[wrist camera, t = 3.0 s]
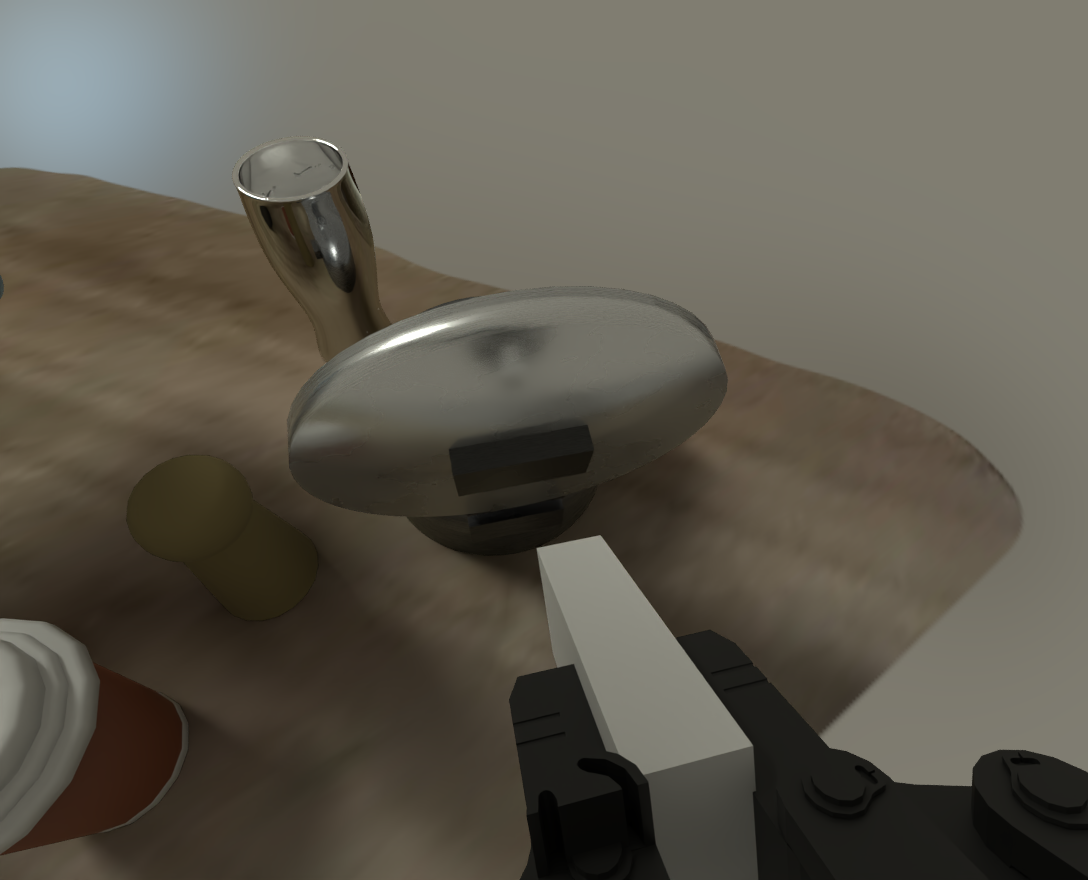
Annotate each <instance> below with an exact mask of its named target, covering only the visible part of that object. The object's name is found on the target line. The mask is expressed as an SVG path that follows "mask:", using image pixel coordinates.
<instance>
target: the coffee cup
mask: <svg viewBox="0 0 1088 880" xmlns="http://www.w3.org/2000/svg"><path fill="white" fill-rule="evenodd" d="M188 729H189V724H188V722H187V720H186V717H185V715H184V713H183V711H182V709H181V707H180V705H179V704H178V703H176V702H175V701H173V700H172V699H170V698H169V697H167V696H166V695H164V694H163V693H160V692H156V691H154V690H152V689H150V688H147V687H145V686H143V685H141V684H139V683H137V682H135V681H132V680H130V679H128V678H126V677H124V676H122V675H119V674H117V673H115V672H113V671H111V670H109V669H106V668H104V667H102V666H100V665H98V664H96V663H93V662H92V660H91V657H90V655H89V652H88V650H87V647H86V645H84V644H83V643H81V642H80V641H78V640H77V639H75V638H74V637H72V636H71V635H69V634H68V633H66V632H65V631H63V630H62V629H60V628H59V627H57V626H56V625H53V624H50V623H47V622H42V621H30V620H18V619H6V618H2V619H0V855H4V854H9V853H13V852H17V851H22V850H26V849H30V848H35V847H39V846H43V845H48V844H52V843H56V842H61V841H65V840H69V839H74V838H78V837H82V836H87V835H91V834H95V833H104V832H108V831H111V830H114V829H117V828H119V827H122V826H125V825H128V824H131V823H133V822H135V821H136V820H137V819H139V818H140V817H141V816H143V815H144V814H145V813H146V812H148V811H149V810H150V809H152V808H153V807H154V806H156V805H157V804H158V803H159V802H160V801H161V799H162V798H163V797H164V795H165V794H166V793H167V791H168V790H169V789H170V787H171V786H172V784H173V783H174V782H175V780H176V779H177V778H178V776H179V773H180V770H181V768H182V765H183V762H184V759H185V757H186V754H187V751H188Z"/></svg>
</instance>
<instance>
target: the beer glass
mask: <svg viewBox="0 0 1088 880" xmlns="http://www.w3.org/2000/svg"><path fill="white" fill-rule="evenodd" d="M232 179H233V183H234V185H235V186H236V188H237V191H238V193H239V196H240V198H241V201H242V203H243V206H244V209H245V212H246V214H247V217H248V219H249V222H250V224H251V227H252V229H253V231H254V233H255V236H256V238H257V240H258V242H259V244H260V246H261V248H262V250H263V252H264V254H265V256H266V257H267V259H268V261H269V263H270V265H271V266H272V268H273V269H274V271H275V272H276V274H277V275H278V277H279V278H280V280H281V281H282V282H283V284H284V285H285V286H286V288H287V289H288V290H289V292H290V293H291V294H292V295H293V297H294V298H295V299H296V301H297V302H298V303H299V305H300V306H301V307H302V309H303V310H304V311H305V313H306V314H307V316H308V317H309V319H310V321H311V323H312V325H313V328H314V331H315V335H316V340H317V345H318V349H319V352H320V355H321V357H322V358H323V359H324V361H325V362H326V363H327V362H329V361H330V360H331V359H332V358H334V357H335V356H336V355H337V354H339V353H340V352H342V351H344V350H345V349H347V348H348V347H350V346H352V345H353V344H355V343H357V342H358V341H360V340H362V339H363V338H365V337H367V336H369V335H371V334H373V333H375V332H377V331H380V330H382V329H384V328H386V327H388V326H390V325H391V323H390V321H389V319H388V318H387V316H386V314H385V312H384V311H383V309H382V306H381V303H380V299H379V293H378V282H377V267H376V255H375V247H374V240H373V234H372V230H371V226H370V222H369V218H368V215H367V212H366V208H365V205H364V202H363V199H362V197H361V194H360V191H359V189H358V186H357V183H356V180H355V178H354V175H353V173H352V170H351V168H350V165H349V162H348V157H347V155H346V153H345V152H344V150H343V149H341V147H339V146H338V145H336V144H335V143H333V142H331V141H328V140H325V139H321V138H316V137H308V136H296V137H286V138H281V139H276V140H273V141H269V142H266V143H264V144H262V145H259V146H257V147H255V148H253V149H251V150H250V151H248V152H247V153H246V154H244V155H243V156H242V157H241V158H240V159H239V160H238V161H237V163H236V164H235V166H234V168H233V172H232Z"/></svg>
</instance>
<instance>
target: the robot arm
mask: <svg viewBox="0 0 1088 880" xmlns="http://www.w3.org/2000/svg"><path fill="white" fill-rule="evenodd" d="M3 289H4V284H3V280H2V278H1V275H0V299H1V297H2V295H3V292H4V291H3ZM537 554H538V560H539V566H540V573H541V579H542V586H543V592H544V599H545V605H546V612H547V618H548V625H549V631H550V638H551V644H552V650H553V655H554V659H555V662H556V665H557V668H554V669H550V670H545V671H541V672H537V673H532V674H528V675H524V676H520V677H518V678H517V680H516V683H515V685H514V688H513V691H512V693H511V696H510V699H509V702H510V708H511V714H512V720H513V726H514V733H515V739H516V745H517V751H518V757H519V763H520V769H521V775H522V781H523V787H524V793H525V799H526V805H527V821H528V826H529V832H530V837H531V850H530V855H529V859H528V863H527V866H526V868H525V870H524V872H523V874H522V876H521V878H520V880H1088V773H1087V772H1086V771H1084V770H1081V769H1079V768H1077V767H1074V766H1072V765H1070V764H1068V763H1066V762H1063V761H1061V760H1059V759H1056V758H1054V757H1050V756H1046V755H1042V754H1038V753H1034V752H1029V751H1026V750H998V751H995V752H992V753H989V754H986V755H983V756H981V758H980V759H979V760H978V762H977V763H976V764H975V766H974V767H973V776H972V786H943V785H913V784H905V783H897V782H894V781H893V780H892V779H891V778H890V777H889V776H887V775H886V774H885V773H883V772H882V771H881V770H880V769H878V768H877V767H876V766H874V765H873V764H872V763H871V762H869V761H867V760H865V759H863V758H860V757H858V756H856V755H854V754H851V753H849V752H847V751H842V750H837V749H831V748H829V747H828V746H827V745H826V744H825V742H824V741H823V740H822V739H821V738H820V737H819V736H818V735H817V734H816V733H815V731H814V730H813V729H812V728H811V727H810V726H809V725H808V724H807V723H806V721H805V720H804V719H803V718H802V717H801V716H800V715H799V714H798V713H797V711H796V710H795V709H794V708H793V707H792V706H791V705H790V704H789V703H788V701H787V700H786V699H785V698H784V697H783V696H782V695H781V694H780V693H779V691H778V690H777V689H776V688H775V687H774V686H773V685H772V684H771V683H768V681H767V678H766V677H765V676H764V675H763V674H762V673H761V671H760V670H759V669H758V668H757V667H756V666H755V667H754V666H753V663H752V661H751V660H750V659H749V658H748V657H747V656H746V655H745V654H744V653H743V651H742V650H741V649H740V648H739V647H738V646H737V645H736V644H735V643H734V642H732V641H730V640H728V639H726V638H724V637H722V636H721V635H719V634H717V633H715V632H713V631H711V630H707V631H703V632H698V633H694V634H690V635H686V636H681V637H677V638H675V637H674V636H673V634H672V633H671V632H670V630H669V629H668V628H667V626H666V625H665V623H664V622H663V621H662V619H661V618H660V617H659V615H658V614H657V612H656V611H655V610H654V608H653V607H652V605H651V604H650V603H649V601H648V600H647V599H646V597H645V596H644V594H643V593H642V592H641V590H640V589H639V588H638V586H637V585H636V583H635V582H634V581H633V579H632V578H631V577H630V575H629V574H628V572H627V571H626V570H625V568H624V567H623V565H622V564H621V563H620V561H619V560H618V559H617V557H616V556H615V554H614V553H613V552H612V550H611V549H610V548H609V546H608V545H607V543H606V542H605V541H604V539H603V538H602V537H601V535H599V536H594V537H589V538H584V539H579V540H574V541H569V542H564V543H560V544H555V545H550V546H545V547H540V548H537Z"/></svg>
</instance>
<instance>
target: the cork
mask: <svg viewBox="0 0 1088 880" xmlns="http://www.w3.org/2000/svg"><path fill="white" fill-rule="evenodd" d="M126 521H127V524H128V527H129V530H130V533H131V535H132V536H133V538H134V539H135V541H136V542H137V543H138V544H139V545H140V546H141V547H142V548H143V549H144V550H146V551H147V552H149V553H151V554H152V555H155V556H157V557H160V558H163V559H165V560H169V561H174V562H183V563H184V564H185V565H186V566H187V567H188V568H189V569H190V570H191V571H192V572H193V574H194V575H195V576H196V577H197V578H198V579H199V580H200V581H201V582H202V583H203V584H204V586H205V587H206V588H207V589H208V590H209V591H210V592H211V593H212V594H213V595H214V596H215V597H216V599H217V600H218V601H219V602H220V603H221V604H222V605H223V606H224V607H225V608H226V609H227V610H228V611H229V612H230V613H231V614H232V615H234V616H236V617H239V618H242V619H244V620H253V621H263V620H267V619H270V618H274V617H277V616H280V615H281V614H283V613H285V612H286V611H288V610H290V609H291V608H293V607H295V606H296V605H297V604H298V602H299V601H300V600H301V599H302V598H303V597H304V596H305V595H306V594H307V593H308V591H309V589H310V588H311V586H312V584H313V582H314V581H315V577H316V573H317V569H318V557H317V551H316V549H315V547H314V545H313V543H312V541H311V540H310V539H309V538H308V537H307V536H305V535H304V534H303V533H302V532H301V531H299V530H298V529H296V528H295V527H293V526H292V525H290V524H289V523H287V522H286V521H284V520H283V519H281V518H280V517H278V516H277V515H275V514H274V513H272V512H271V511H269V510H268V509H266V508H265V507H263V506H262V505H260V504H259V503H257V502H256V501H254V500H253V497H252V493H251V490H250V488H249V485H248V483H247V481H246V479H245V477H244V476H243V475H242V474H241V473H240V472H239V471H238V470H237V469H236V468H234V467H233V466H232V465H231V464H230V463H228V462H226V461H224V460H221V459H218V458H215V457H212V456H209V455H185V456H181V457H177V458H172V459H170V460H168V461H166V462H164V463H162V464H160V465H157V466H156V467H155V468H154V469H152V470H151V471H150V472H148V473H147V474H146V475H144V476H143V478H142V479H141V480H140V481H139V482H138V484H137V485H136V486H135V487H134V489H133V491H132V493H131V496H130V498H129V500H128V506H127V519H126Z"/></svg>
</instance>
